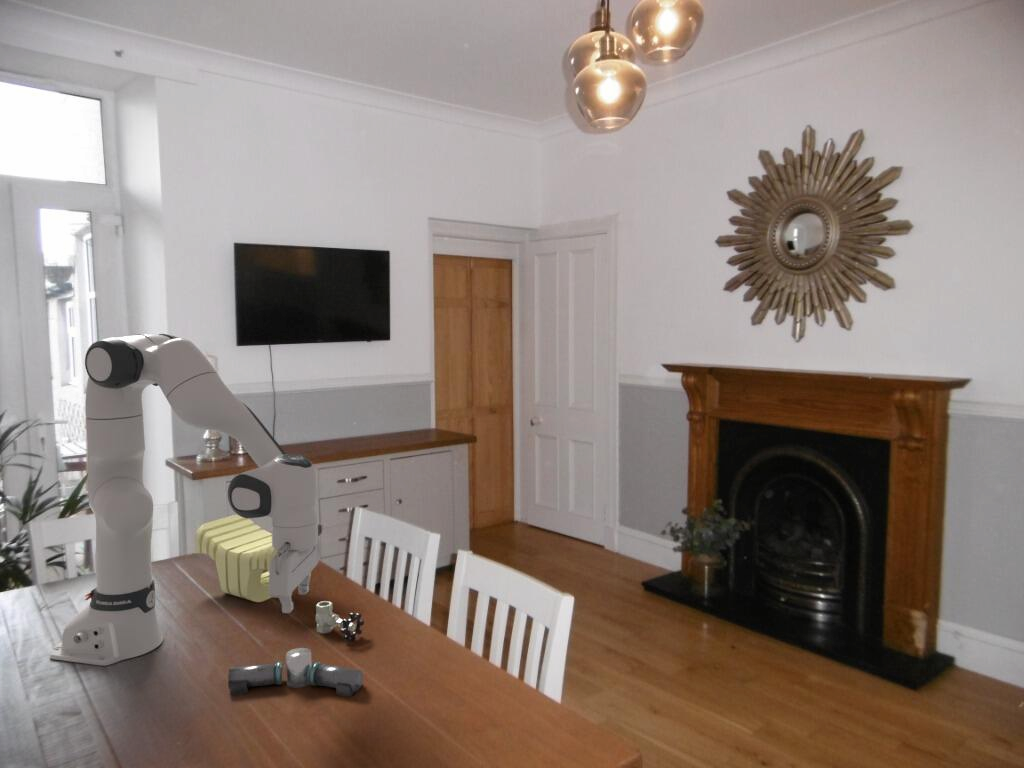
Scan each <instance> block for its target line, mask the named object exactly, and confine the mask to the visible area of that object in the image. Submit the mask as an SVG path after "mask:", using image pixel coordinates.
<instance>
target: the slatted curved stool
mask: <svg viewBox="0 0 1024 768" xmlns="http://www.w3.org/2000/svg"><path fill="white" fill-rule="evenodd" d="M277 550H278V549H275V548H273V546H272V532H269V531H268V530H266V529H262V527H260V526H259V525H258V524H255V522H254V521H253V520H251V518H243V517H241V516H239V515H238V514H236V513H235V514H232V515H230V516H225V517H222V518H218V519H216V520H212V521H209V522H205V523H203V524H202V525H200V526H199V527H198V529H196V532H195V536H194V551H195V554H203V555H204V554H205V555H208V557H210V558H211V559H212V561H215V567H216V570H217V574H218V579H219V587H220V590H221V592H223V593H225V594H229V595H230V596H231V595H232V596H233V597H234V596H235V597H239V598H241V599H244V600H248V601H252V602H254V603H262V602H264V601H265V602H266V601H267V600H269V599H271V598H273V597H271V596H270V594H269V570H270V563H271V560H272V558H273V557H274V556H275V555H276V554H277ZM264 570H266V572H264ZM263 572H264V573H263Z"/></svg>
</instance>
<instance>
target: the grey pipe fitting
mask: <svg viewBox="0 0 1024 768" xmlns="http://www.w3.org/2000/svg"><path fill="white" fill-rule="evenodd" d="M283 671H284V667H283V661H276V662H275V663H274V662H273V663H265V664H264V663H263V664H262V663H261V664H255V665H245V666H234V667H229V669H228V674H227V675H228V677H227V685H228V686H227V687H228V690H230V695H231V696H234V695H242V694H244V695H245V694H248V690H249V688H251V687H261V686H269V685H270V686H271V685H276V686H278V685H283V679H284V677H283V673H284V672H283Z"/></svg>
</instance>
